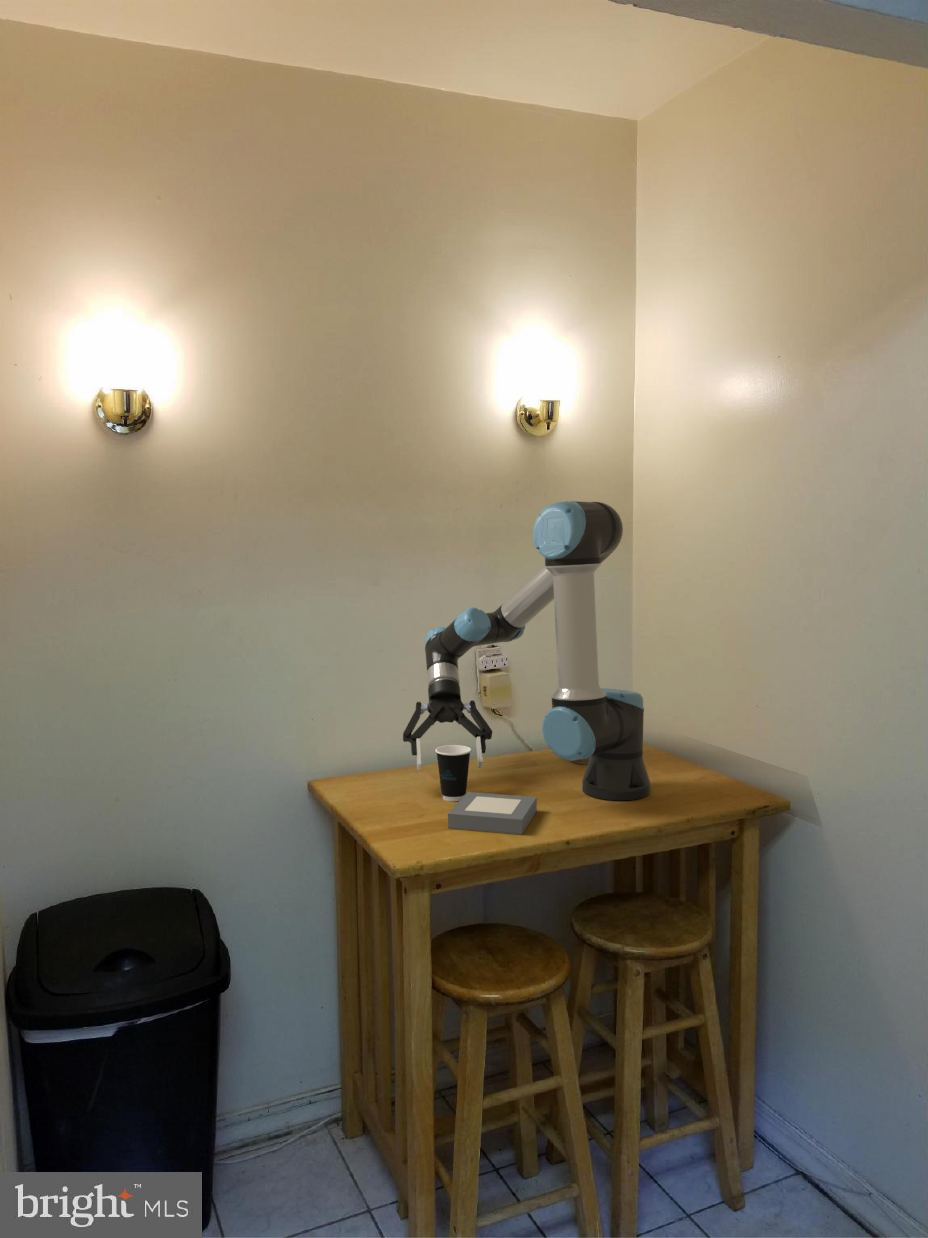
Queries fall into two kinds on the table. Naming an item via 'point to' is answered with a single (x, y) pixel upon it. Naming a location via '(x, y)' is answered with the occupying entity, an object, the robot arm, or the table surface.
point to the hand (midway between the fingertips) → (450, 766)
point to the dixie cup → (453, 770)
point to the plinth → (493, 813)
